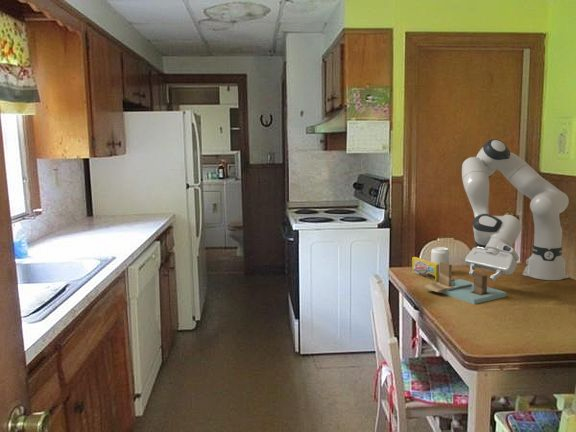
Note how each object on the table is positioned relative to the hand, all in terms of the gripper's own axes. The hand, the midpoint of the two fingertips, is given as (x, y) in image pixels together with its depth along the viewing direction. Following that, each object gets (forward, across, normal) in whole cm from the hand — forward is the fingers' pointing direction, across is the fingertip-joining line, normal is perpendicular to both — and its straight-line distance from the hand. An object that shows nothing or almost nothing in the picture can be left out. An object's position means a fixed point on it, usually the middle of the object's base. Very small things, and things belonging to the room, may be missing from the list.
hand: (481, 277), depth 202 cm
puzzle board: (+7, -5, +5) cm, 10 cm away
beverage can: (-6, -33, +18) cm, 38 cm away
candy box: (+2, -33, +10) cm, 35 cm away
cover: (+11, -13, -3) cm, 17 cm away
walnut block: (+7, +1, +4) cm, 8 cm away
